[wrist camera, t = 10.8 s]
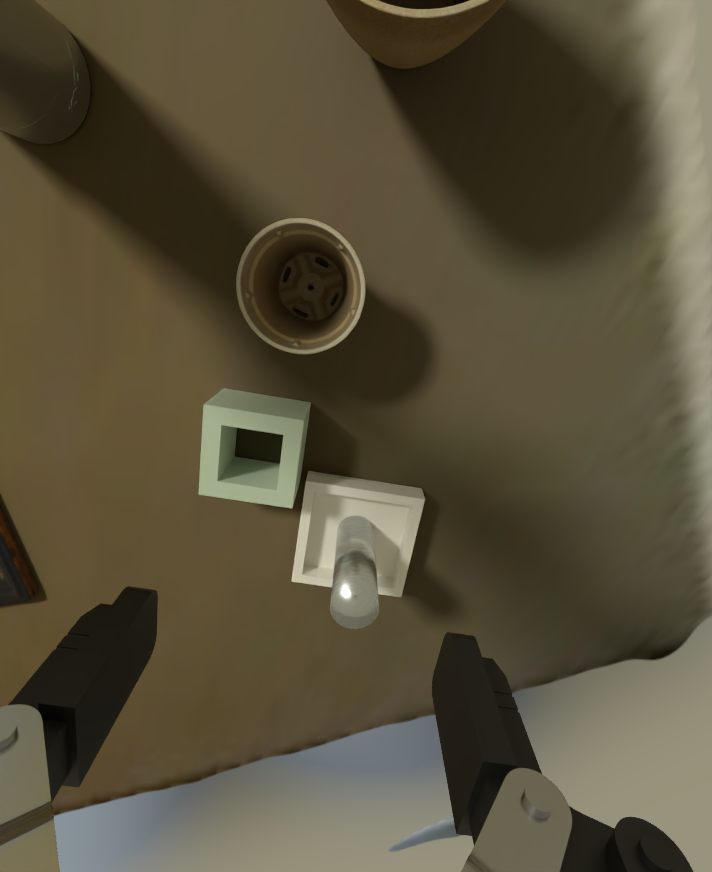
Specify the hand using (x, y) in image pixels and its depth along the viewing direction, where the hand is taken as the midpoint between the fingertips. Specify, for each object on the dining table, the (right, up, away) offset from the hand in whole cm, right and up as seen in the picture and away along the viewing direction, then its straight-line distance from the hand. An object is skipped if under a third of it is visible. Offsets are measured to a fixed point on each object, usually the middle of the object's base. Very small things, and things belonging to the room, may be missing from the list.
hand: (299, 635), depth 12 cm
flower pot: (-2, +19, +29) cm, 34 cm away
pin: (+2, -5, +36) cm, 36 cm away
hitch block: (-8, +5, +33) cm, 35 cm away
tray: (+2, -5, +37) cm, 37 cm away
